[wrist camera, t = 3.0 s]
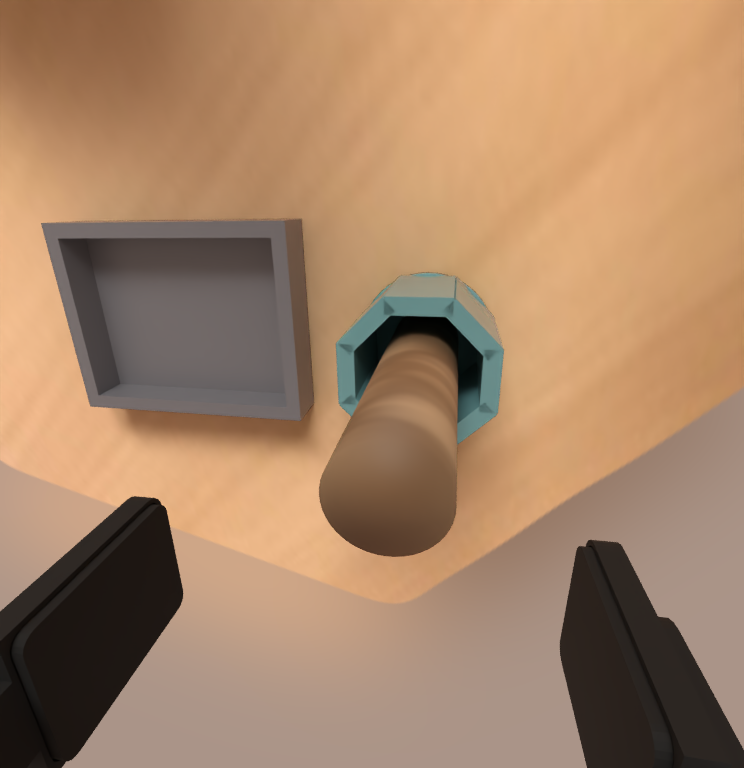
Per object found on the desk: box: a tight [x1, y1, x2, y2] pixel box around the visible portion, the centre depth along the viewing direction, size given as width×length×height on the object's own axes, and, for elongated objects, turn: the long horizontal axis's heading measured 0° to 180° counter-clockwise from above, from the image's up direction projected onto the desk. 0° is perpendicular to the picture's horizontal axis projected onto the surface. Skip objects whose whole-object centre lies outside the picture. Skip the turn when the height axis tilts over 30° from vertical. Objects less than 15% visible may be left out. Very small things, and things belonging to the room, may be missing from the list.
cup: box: [336, 272, 504, 445], centre depth 23 cm, size 7×7×6 cm
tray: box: [41, 219, 314, 421], centre depth 27 cm, size 14×11×3 cm
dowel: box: [319, 316, 459, 557], centre depth 19 cm, size 4×4×15 cm
